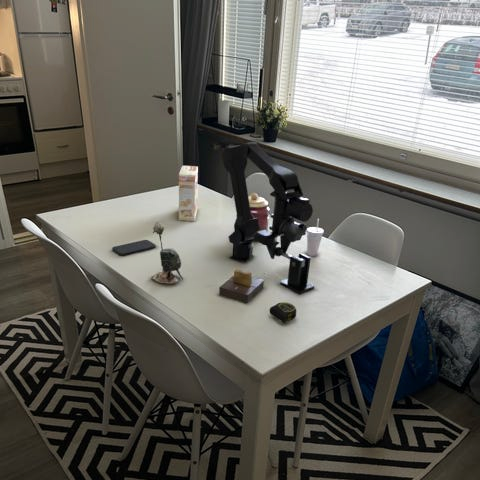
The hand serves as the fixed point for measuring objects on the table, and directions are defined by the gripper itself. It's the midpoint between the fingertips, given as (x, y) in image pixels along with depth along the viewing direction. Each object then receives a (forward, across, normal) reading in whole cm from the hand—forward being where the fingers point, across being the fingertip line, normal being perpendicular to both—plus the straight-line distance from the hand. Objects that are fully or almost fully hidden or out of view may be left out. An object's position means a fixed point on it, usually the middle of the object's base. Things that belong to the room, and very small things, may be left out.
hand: (277, 257), depth 171 cm
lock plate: (+7, -17, -2) cm, 19 cm away
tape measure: (+7, -19, -22) cm, 30 cm away
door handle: (0, 0, -5) cm, 5 cm away
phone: (+6, -28, +46) cm, 55 cm away
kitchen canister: (+7, +17, +32) cm, 37 cm away
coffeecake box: (+7, +10, +66) cm, 67 cm away
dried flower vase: (+7, -32, +18) cm, 37 cm away
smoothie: (+7, +25, +6) cm, 26 cm away
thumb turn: (+4, -17, -2) cm, 18 cm away
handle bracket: (+7, 0, -10) cm, 12 cm away
